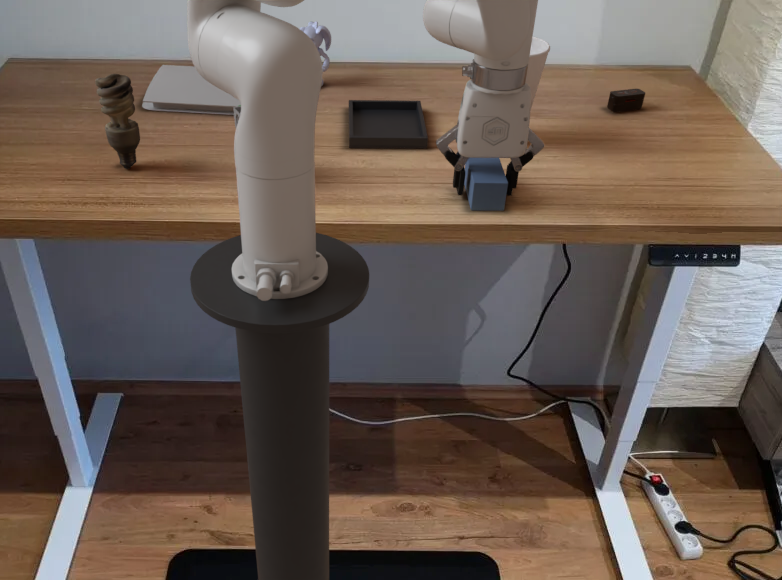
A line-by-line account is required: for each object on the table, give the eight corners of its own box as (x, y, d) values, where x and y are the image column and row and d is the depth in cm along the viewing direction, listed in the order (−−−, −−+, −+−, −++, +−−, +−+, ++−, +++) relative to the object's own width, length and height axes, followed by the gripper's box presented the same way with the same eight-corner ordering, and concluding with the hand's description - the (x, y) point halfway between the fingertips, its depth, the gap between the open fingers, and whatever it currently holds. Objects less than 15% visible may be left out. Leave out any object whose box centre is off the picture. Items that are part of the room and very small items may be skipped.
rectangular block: (504, 210, 121) (508, 183, 118) (470, 210, 121) (474, 182, 118) (494, 181, 128) (498, 154, 125) (463, 180, 128) (466, 154, 125)
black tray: (427, 148, 138) (427, 138, 137) (349, 148, 138) (349, 137, 137) (419, 110, 151) (420, 100, 150) (348, 109, 151) (348, 99, 150)
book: (161, 81, 162) (159, 61, 160) (273, 87, 160) (272, 67, 158) (137, 109, 151) (134, 88, 148) (257, 116, 148) (256, 95, 146)
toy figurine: (289, 83, 162) (287, 20, 154) (314, 76, 165) (313, 14, 157) (309, 92, 158) (308, 28, 150) (335, 86, 161) (335, 22, 153)
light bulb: (103, 170, 131) (85, 76, 121) (124, 157, 134) (108, 65, 125) (131, 177, 129) (116, 82, 119) (152, 163, 133) (138, 71, 123)
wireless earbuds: (646, 110, 152) (650, 92, 150) (613, 114, 150) (617, 96, 148) (632, 101, 155) (636, 84, 153) (599, 105, 154) (603, 88, 152)
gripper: (439, 83, 110) (429, 202, 121) (566, 84, 110) (544, 203, 121) (435, 65, 116) (425, 180, 127) (555, 66, 116) (535, 181, 127)
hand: (483, 190), depth 124 cm, fingers open, 6 cm apart
